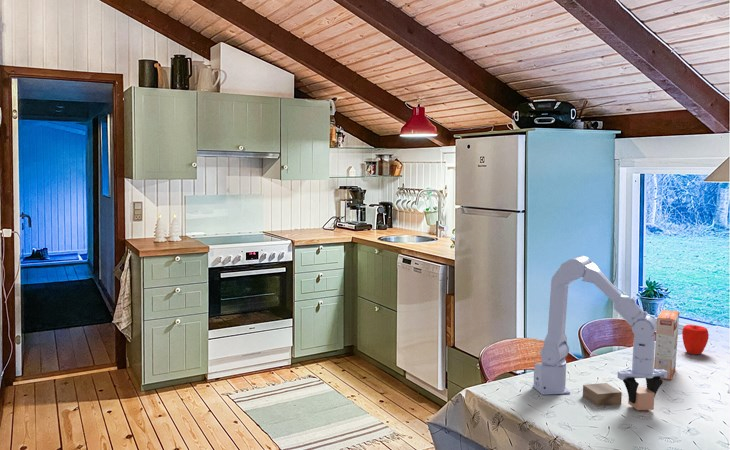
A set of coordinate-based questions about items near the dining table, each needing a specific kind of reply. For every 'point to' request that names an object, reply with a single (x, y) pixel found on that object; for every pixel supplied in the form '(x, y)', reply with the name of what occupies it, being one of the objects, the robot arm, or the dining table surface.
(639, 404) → the terracotta block
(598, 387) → the walnut base
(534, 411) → the dining table surface
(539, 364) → the robot arm
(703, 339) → the apple
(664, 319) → the cracker box
